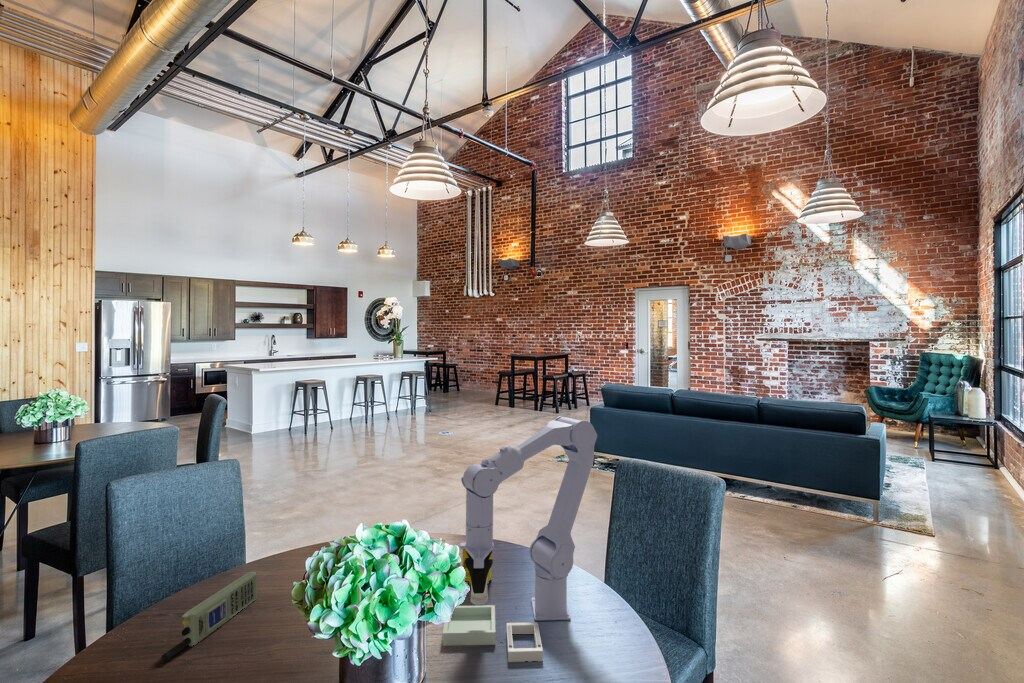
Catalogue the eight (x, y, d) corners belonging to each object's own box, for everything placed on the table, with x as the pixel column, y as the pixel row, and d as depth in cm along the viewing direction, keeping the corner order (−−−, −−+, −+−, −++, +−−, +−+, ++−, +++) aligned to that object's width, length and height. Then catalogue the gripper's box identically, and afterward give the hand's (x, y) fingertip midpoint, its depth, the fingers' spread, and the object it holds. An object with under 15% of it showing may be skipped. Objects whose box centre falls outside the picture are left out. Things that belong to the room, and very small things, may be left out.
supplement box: (461, 587, 126) (462, 543, 127) (470, 576, 132) (470, 534, 132) (484, 590, 125) (484, 546, 125) (492, 580, 130) (492, 537, 131)
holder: (506, 632, 107) (506, 621, 107) (537, 631, 107) (537, 620, 107) (508, 662, 97) (508, 650, 97) (542, 661, 97) (542, 649, 97)
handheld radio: (259, 600, 120) (172, 665, 96) (247, 599, 121) (157, 664, 96) (259, 571, 120) (171, 629, 96) (246, 571, 121) (156, 628, 96)
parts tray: (447, 617, 113) (447, 606, 113) (494, 616, 113) (494, 605, 113) (442, 645, 102) (442, 633, 102) (495, 644, 102) (495, 632, 102)
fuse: (471, 596, 108) (471, 563, 108) (488, 596, 108) (488, 563, 108) (469, 605, 105) (470, 570, 105) (487, 605, 105) (487, 570, 105)
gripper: (461, 511, 114) (461, 572, 114) (458, 536, 99) (457, 605, 99) (493, 511, 114) (492, 572, 114) (494, 535, 100) (493, 605, 99)
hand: (478, 587), depth 107 cm, fingers closed on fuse, 3 cm apart
